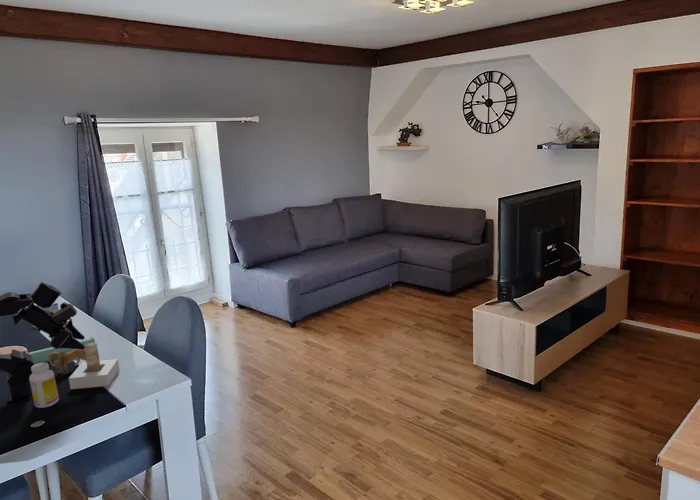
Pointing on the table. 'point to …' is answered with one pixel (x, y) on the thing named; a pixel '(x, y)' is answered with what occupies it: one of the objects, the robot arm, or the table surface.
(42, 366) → the supplement bottle
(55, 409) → the table surface
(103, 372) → the socket
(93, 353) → the peg
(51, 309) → the medicine box
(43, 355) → the container
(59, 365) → the lion figurine
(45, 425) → the table surface
